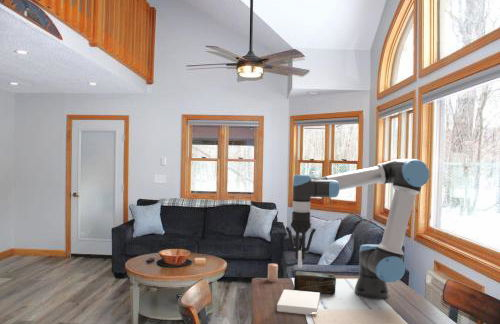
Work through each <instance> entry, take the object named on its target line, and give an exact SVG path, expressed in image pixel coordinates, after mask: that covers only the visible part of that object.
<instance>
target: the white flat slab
mask: <svg viewBox="0 0 500 324" xmlns="http://www.w3.org/2000/svg"><path fill="white" fill-rule="evenodd" d="M320 299H321V293H319V292H308V291H297V290H294V289H284V288H283V290H282V293H281V295H280V297H279V299H278V302H277V303H276V304H277V305H276V311H277V312H280V313H291V314H299V315H307V314H310V313H312V312H317V310H318V311H319V307H318V306H320ZM317 313H318V312H317Z"/></svg>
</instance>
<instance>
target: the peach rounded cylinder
mask: <svg viewBox="0 0 500 324" xmlns="http://www.w3.org/2000/svg"><path fill="white" fill-rule="evenodd" d="M278 271H279V265H278V263H267V281H268V282H272V283H277V282H278V276H279V275H278V273H279V272H278Z"/></svg>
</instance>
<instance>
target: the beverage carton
mask: <svg viewBox="0 0 500 324" xmlns="http://www.w3.org/2000/svg"><path fill="white" fill-rule="evenodd" d="M293 280H294V281H293V287H294V288H293V290H297V291H308V292H319V293H320V294H321V293H322V294H335V295H336V286H337V285H336V284H337V276H336V274H333V273H321V272H311V271H310V272H309V271H295V274H294V279H293Z"/></svg>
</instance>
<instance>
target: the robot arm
mask: <svg viewBox="0 0 500 324" xmlns="http://www.w3.org/2000/svg"><path fill="white" fill-rule="evenodd" d="M292 179H293V180H292V182H293V183H292V208H291V209H292V213H291V214H292V215H291V216H292V217H291V223H290V225H288V226H286V227H285V230H286V232H287V235H288V239H289V243H290V249H291V250H292V251H294V252H295V260H297V268H302V267H303V260H305V259H306V252H308V251H310V248H311V244H312V240H313V236H314V234H315V233H316V230H317V227H314V226H312V223H311V212H310V211H311V199H312V198H337V197H339V194H340V191H342V190H346V189H351V188H358V187H364V186H367V185H373V184H380V185H386V184H392V188H393V189H394V192H393V196H392V200H391V204H390V208H389V212H388V215H387V219H386V224H385V227H384V231H383V235H382V240H381V242H380V243H379V244H377V243H376V244H374V243H372V244H369V243H367V244H361V245H360V246H359V251H358V253H359V256H358V262H359V265H358V266H359V267H358V268H359V269H358V270H359V272H358V278H357V281H356V284H355V286H354V293H355V294H356V295H357V294H358V295H357V296H359V295H360V296H359V297H362V296H363V297H362V298H365V297H366V299H371V298H372V299H373V300H382V299H387V298H389V288H388V284H392V283H397V282H398V281H400V280H401V279H402V278H403V276H404V275H405V272H406V265H405V263H404V261H403V259H404V256H405V254H404V251H403V250H402V247H403V244H404V240H405V236H406V233H407V229H408V224H409V221H410V218H411V217H410V216H411V213H412V209H413V205H414V202H415V198H416V196H417V195H418V194H420V193H421V189H422V187H423V186H425V184H426V185H427V183H428V181H429V179H430V169H429V167H428V166H427V164H426V163H425V162H424V161H422V160H420V159H417V158H416V159H415V158H396V159H393V160H389V161H386V162H381V163H377V164H376V165H375V166H371V167H368V168H362V169H361V168H360V169H356V170H351V171H345V172H340V173H337V174H336V173H335V174H331V175H325V176H320V177H312V176H311V175H310V174H295V175H294V176H293V178H292ZM292 230H293V231H294V232H295V241H294V237H293V233H292ZM308 231H309V232H310V233H309V237H308V241H307V244H306V234H307V232H308ZM300 234H301V250H300ZM387 283H388V284H387ZM372 299H371V300H372Z"/></svg>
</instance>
